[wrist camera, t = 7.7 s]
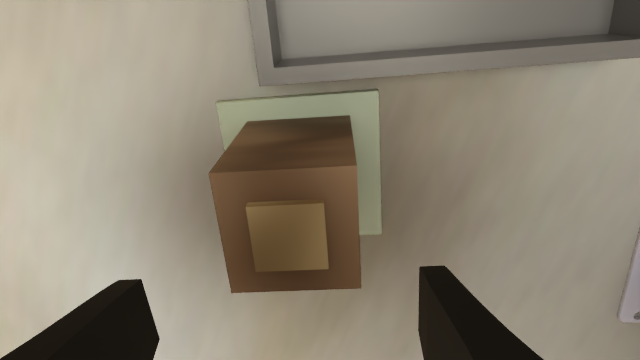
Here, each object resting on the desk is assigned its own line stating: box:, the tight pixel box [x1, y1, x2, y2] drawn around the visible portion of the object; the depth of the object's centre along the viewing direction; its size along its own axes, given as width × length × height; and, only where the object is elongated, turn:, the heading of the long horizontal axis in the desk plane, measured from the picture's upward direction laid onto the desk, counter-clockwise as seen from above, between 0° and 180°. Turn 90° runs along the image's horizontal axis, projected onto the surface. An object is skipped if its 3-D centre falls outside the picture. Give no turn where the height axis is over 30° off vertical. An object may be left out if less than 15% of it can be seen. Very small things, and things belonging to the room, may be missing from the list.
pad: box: [216, 89, 382, 235], centre depth 19 cm, size 7×7×1 cm
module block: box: [209, 115, 361, 293], centre depth 16 cm, size 4×4×6 cm
